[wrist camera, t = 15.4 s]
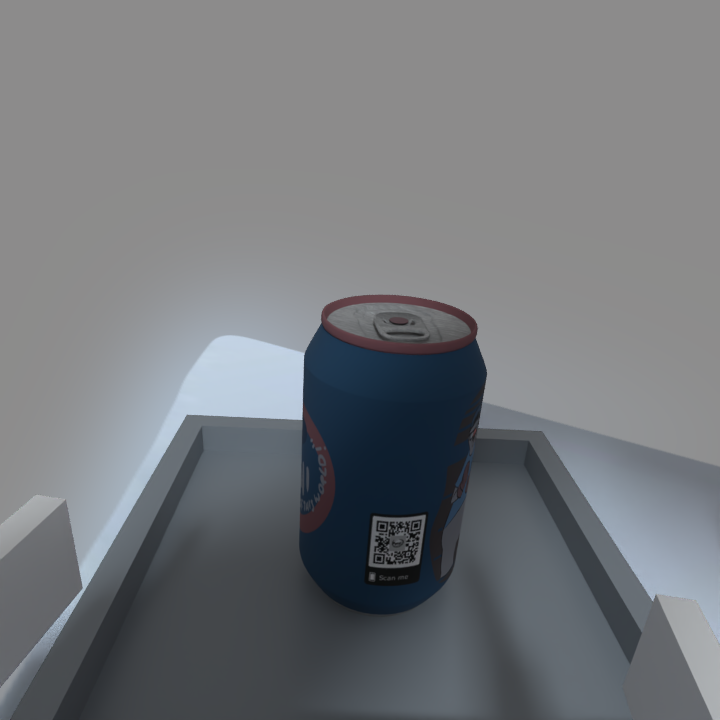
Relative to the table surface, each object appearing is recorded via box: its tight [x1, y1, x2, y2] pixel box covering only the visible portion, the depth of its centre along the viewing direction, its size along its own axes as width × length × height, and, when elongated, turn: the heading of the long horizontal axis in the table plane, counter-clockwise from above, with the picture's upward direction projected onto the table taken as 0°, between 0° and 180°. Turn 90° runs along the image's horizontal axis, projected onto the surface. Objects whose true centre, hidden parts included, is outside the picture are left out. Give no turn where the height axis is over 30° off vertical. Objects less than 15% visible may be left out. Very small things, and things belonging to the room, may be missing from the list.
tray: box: [10, 415, 653, 720], centre depth 24 cm, size 22×20×2 cm
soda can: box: [299, 295, 487, 617], centre depth 22 cm, size 7×7×12 cm
